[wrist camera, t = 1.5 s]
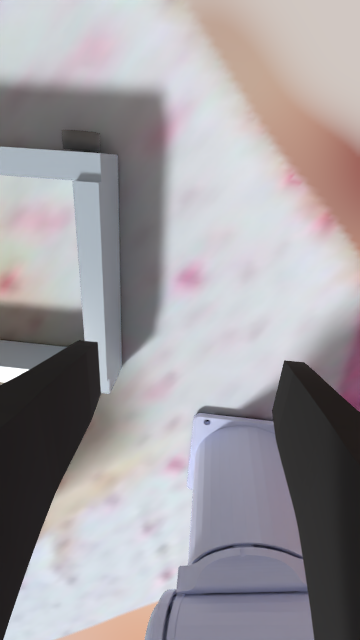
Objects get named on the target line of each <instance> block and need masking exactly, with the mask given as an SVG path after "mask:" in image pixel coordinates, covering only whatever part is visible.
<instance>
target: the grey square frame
mask: <svg viewBox="0 0 360 640" xmlns="http://www.w3.org/2000/svg"><path fill="white" fill-rule="evenodd" d="M62 142H63V149H71V150H84V151H100V133H96V132H88V131H77V130H62ZM0 175H7V176H21V177H35V178H48V179H62V180H76V181H73V193H74V207H75V220H76V233H77V247H78V260H79V273H80V287H81V300H82V313H83V326H84V340H85V341H91V342H98V353H99V370H100V386H101V393H106V394H110V392H111V390H112V388H113V386H114V383H115V381H116V379H117V377H118V375H119V372H120V370H121V368H122V346H121V294H120V242H119V190H118V155H114V154H103V153H89V152H74V151H59V150H45V149H30V148H15V147H0ZM65 348H66V347H63V346H53V345H44V344H34V343H24V342H14V341H5V340H0V382H7V381H9V380H11V379H13V378H15V377H17V376H19V375H20V374H22V373H24V372H26V371H28V370H30V369H31V368H33V367H35V366H36V365H38V364H40V363H41V362H43V361H45V360H47V359H48V358H50V357H52V356H53V355H55V354H57V353H58V352H60V351H61V350H63V349H65Z"/></svg>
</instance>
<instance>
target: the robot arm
mask: <svg viewBox="0 0 360 640" xmlns="http://www.w3.org/2000/svg"><path fill="white" fill-rule="evenodd" d="M100 394H101V386H100V370H99V353H98V342H91V341H81V340H79V341H77V342H75V343H73V344H72V345H70V346H68V347H66V348H65V349H63V350H61V351H60V352H58V353H57V354H55V355H53V356H52V357H50V358H48V359H47V360H45V361H43V362H41V363H40V364H38V365H36V366H35V367H33V368H31V369H30V370H28V371H26V372H24V373H22V374H20V375H19V376H17V377H15V378H13V379H11V380H9V381H7V382H6V383H4V384H2V385H0V640H3V638H4V635H5V632H6V629H7V626H8V623H9V620H10V617H11V614H12V611H13V608H14V605H15V602H16V599H17V596H18V593H19V590H20V587H21V584H22V581H23V579H24V576H25V573H26V570H27V567H28V564H29V561H30V559H31V556H32V553H33V550H34V548H35V545H36V542H37V540H38V537H39V534H40V531H41V529H42V526H43V523H44V521H45V518H46V516H47V513H48V511H49V508H50V505H51V503H52V500H53V498H54V495H55V493H56V491H57V489H58V486H59V484H60V482H61V480H62V478H63V476H64V474H65V472H66V470H67V468H68V466H69V464H70V462H71V460H72V458H73V456H74V454H75V452H76V450H77V448H78V446H79V444H80V442H81V440H82V438H83V436H84V434H85V432H86V430H87V428H88V426H89V424H90V422H91V420H92V417H93V414H94V412H95V409H96V406H97V403H98V400H99V397H100ZM272 414H273V421H267V420H258V419H249V418H240V417H231V416H222V415H213V414H204V413H198V414H196V415H195V416H194V421H193V430H192V440H191V450H190V459H189V469H188V479H187V487H188V488H189V489H191V490H193V496H192V511H191V527H190V542H189V558H188V565H187V566H180V567H179V568H178V579H177V589H171V590H167V591H165V592H164V593H163V595H162V596H161V598H160V600H159V602H158V604H157V605H156V607H155V608H154V610H153V612H152V614H151V617H150V620H149V623H148V626H147V631H146V636H145V640H360V412H359V411H358V410H356V409H355V408H354V407H353V406H352V405H351V404H349V403H348V402H347V401H346V400H345V399H344V398H343V397H342V396H341V395H339V394H338V393H337V392H336V391H335V390H334V389H333V388H332V387H331V386H330V385H329V384H327V383H326V382H325V381H324V380H323V379H322V378H321V377H320V376H319V375H318V374H317V373H316V372H315V371H313V370H312V369H311V368H310V367H309V366H308V365H307V364H305V363H304V362H294V361H284V364H283V368H282V372H281V376H280V381H279V385H278V389H277V393H276V397H275V401H274V406H273V410H272ZM205 420H210V421H205Z"/></svg>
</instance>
